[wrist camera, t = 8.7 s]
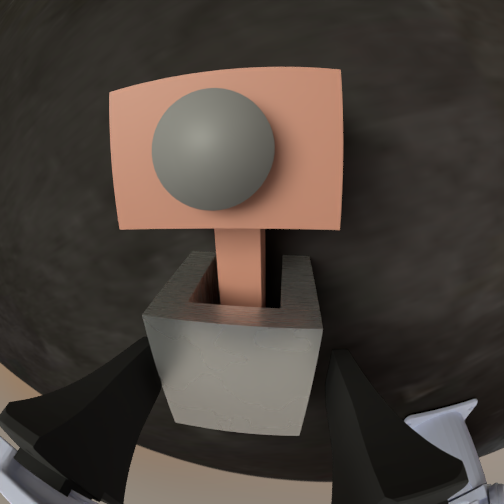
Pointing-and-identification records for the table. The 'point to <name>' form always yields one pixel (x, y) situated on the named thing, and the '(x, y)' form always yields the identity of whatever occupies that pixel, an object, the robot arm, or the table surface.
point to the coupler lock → (236, 350)
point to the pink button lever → (231, 161)
